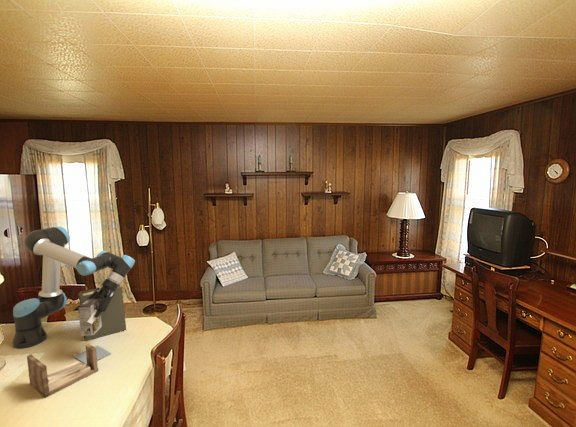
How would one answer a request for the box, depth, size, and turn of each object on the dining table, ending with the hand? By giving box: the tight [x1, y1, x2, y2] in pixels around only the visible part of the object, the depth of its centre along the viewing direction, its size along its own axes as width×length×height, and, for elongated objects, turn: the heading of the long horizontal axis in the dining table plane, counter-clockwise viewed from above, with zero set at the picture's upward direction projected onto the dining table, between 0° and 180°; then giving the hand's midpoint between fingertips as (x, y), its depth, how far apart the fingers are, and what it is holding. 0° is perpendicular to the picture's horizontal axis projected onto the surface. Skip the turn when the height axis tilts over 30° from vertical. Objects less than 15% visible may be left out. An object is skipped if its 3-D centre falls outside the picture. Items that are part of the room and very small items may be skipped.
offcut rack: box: [26, 343, 99, 399], centre depth 147 cm, size 16×22×14 cm
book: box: [78, 283, 127, 342], centre depth 187 cm, size 22×9×28 cm, turn 127°
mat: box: [73, 345, 112, 365], centre depth 166 cm, size 14×12×1 cm
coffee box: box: [77, 299, 102, 337], centre depth 163 cm, size 9×6×16 cm
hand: (84, 320), depth 160 cm, fingers closed on coffee box, 10 cm apart
